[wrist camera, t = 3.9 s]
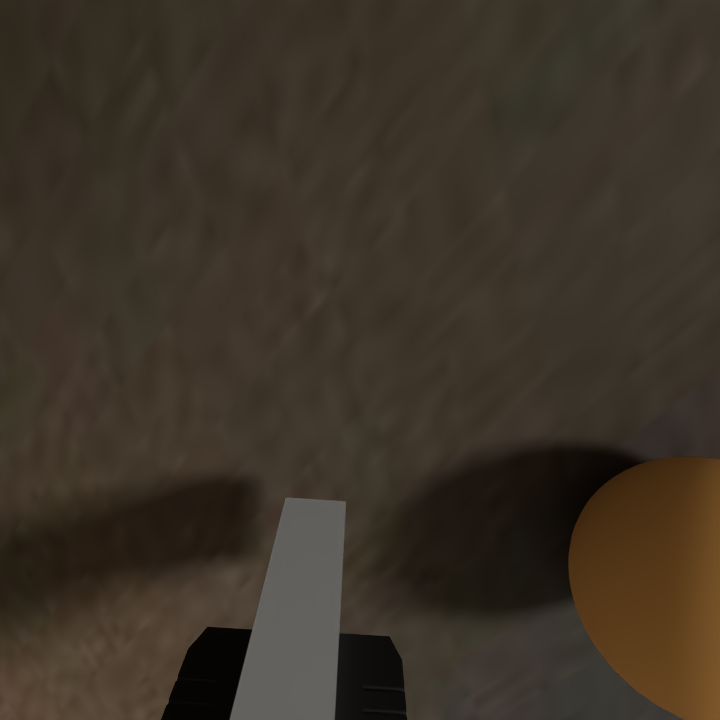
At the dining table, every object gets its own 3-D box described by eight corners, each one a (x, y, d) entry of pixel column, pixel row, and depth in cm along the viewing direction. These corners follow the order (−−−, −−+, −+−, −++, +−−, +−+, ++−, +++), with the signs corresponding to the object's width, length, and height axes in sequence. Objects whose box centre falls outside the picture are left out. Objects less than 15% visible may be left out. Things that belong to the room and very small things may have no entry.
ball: (496, 531, 16) (574, 728, 10) (635, 377, 14) (824, 506, 8) (640, 619, 17) (787, 844, 11) (785, 486, 15) (1045, 667, 9)
